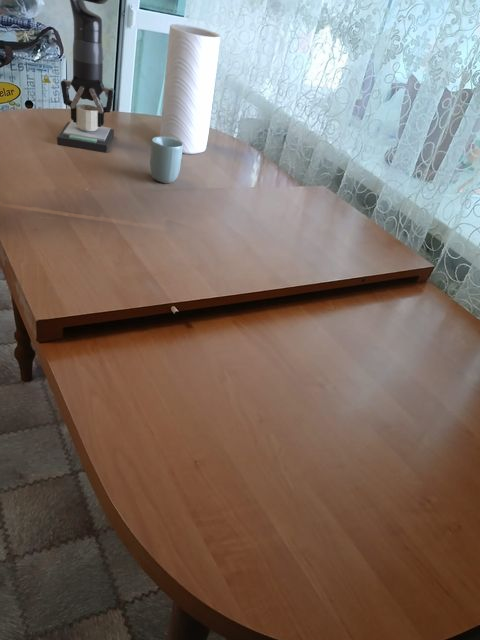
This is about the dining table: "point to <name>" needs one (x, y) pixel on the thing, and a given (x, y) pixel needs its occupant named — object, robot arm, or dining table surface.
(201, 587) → the dining table surface
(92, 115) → the faceted beige tumbler
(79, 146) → the scale
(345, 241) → the dining table surface
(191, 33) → the vase
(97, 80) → the robot arm
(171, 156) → the cup
